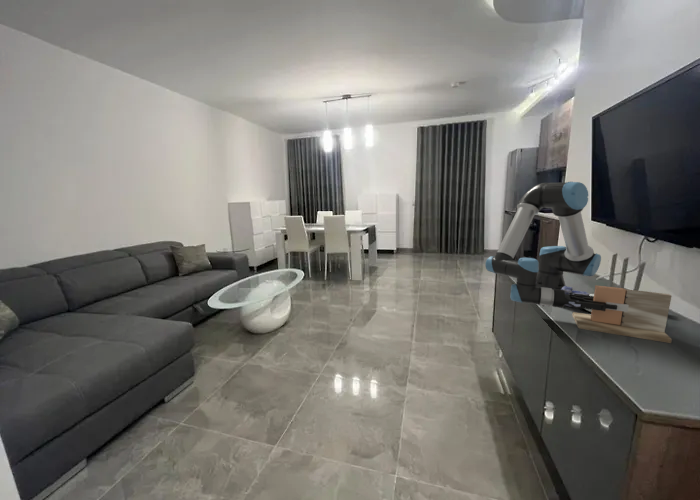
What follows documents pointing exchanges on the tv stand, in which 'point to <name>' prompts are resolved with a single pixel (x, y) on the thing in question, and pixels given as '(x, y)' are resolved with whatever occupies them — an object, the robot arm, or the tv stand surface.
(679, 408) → the tv stand surface
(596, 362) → the tv stand surface
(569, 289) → the mineral
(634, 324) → the stand
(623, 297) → the orange rectangular panel
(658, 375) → the tv stand surface
